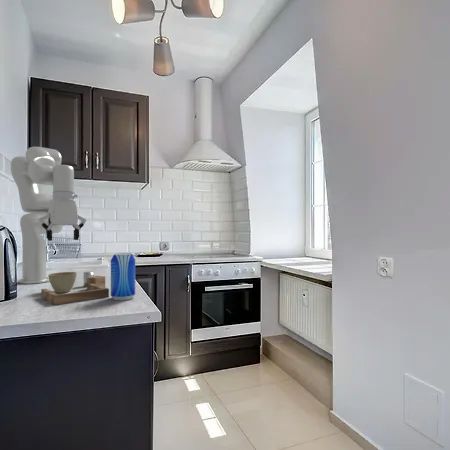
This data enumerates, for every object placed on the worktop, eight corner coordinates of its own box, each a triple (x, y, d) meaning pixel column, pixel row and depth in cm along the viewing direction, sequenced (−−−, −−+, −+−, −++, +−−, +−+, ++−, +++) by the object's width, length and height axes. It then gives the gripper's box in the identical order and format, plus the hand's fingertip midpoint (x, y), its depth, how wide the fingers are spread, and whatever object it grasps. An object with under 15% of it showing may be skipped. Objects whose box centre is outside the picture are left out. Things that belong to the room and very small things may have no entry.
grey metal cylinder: (82, 286, 142) (82, 272, 142) (91, 285, 144) (91, 271, 144) (85, 287, 139) (85, 273, 139) (95, 286, 141) (95, 272, 141)
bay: (41, 297, 119) (41, 289, 119) (91, 290, 131) (91, 283, 132) (54, 305, 108) (54, 296, 108) (108, 296, 120) (108, 288, 120)
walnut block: (86, 289, 135) (86, 277, 135) (96, 287, 139) (96, 275, 139) (95, 290, 132) (95, 278, 132) (105, 288, 137) (105, 276, 137)
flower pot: (69, 288, 137) (69, 271, 137) (81, 291, 130) (81, 273, 130) (43, 292, 129) (43, 273, 129) (55, 295, 123) (55, 276, 123)
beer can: (110, 296, 121) (110, 253, 121) (134, 295, 124) (134, 252, 124) (111, 301, 113) (111, 254, 113) (136, 299, 116) (136, 254, 116)
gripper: (82, 198, 138) (82, 239, 138) (36, 195, 126) (35, 240, 126) (89, 197, 133) (89, 239, 133) (41, 194, 121) (41, 241, 121)
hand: (63, 240), depth 130 cm, fingers open, 9 cm apart
